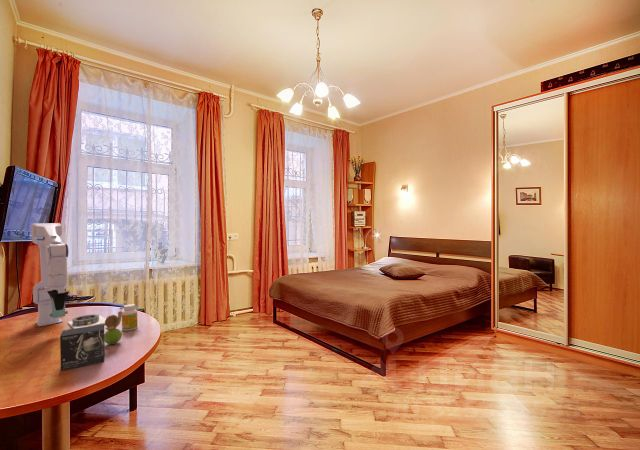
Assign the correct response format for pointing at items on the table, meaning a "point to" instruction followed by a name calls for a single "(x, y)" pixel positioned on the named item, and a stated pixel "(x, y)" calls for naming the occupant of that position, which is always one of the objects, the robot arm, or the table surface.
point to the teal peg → (57, 313)
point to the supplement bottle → (129, 317)
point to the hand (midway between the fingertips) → (58, 308)
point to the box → (82, 346)
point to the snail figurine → (113, 328)
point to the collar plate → (87, 321)
